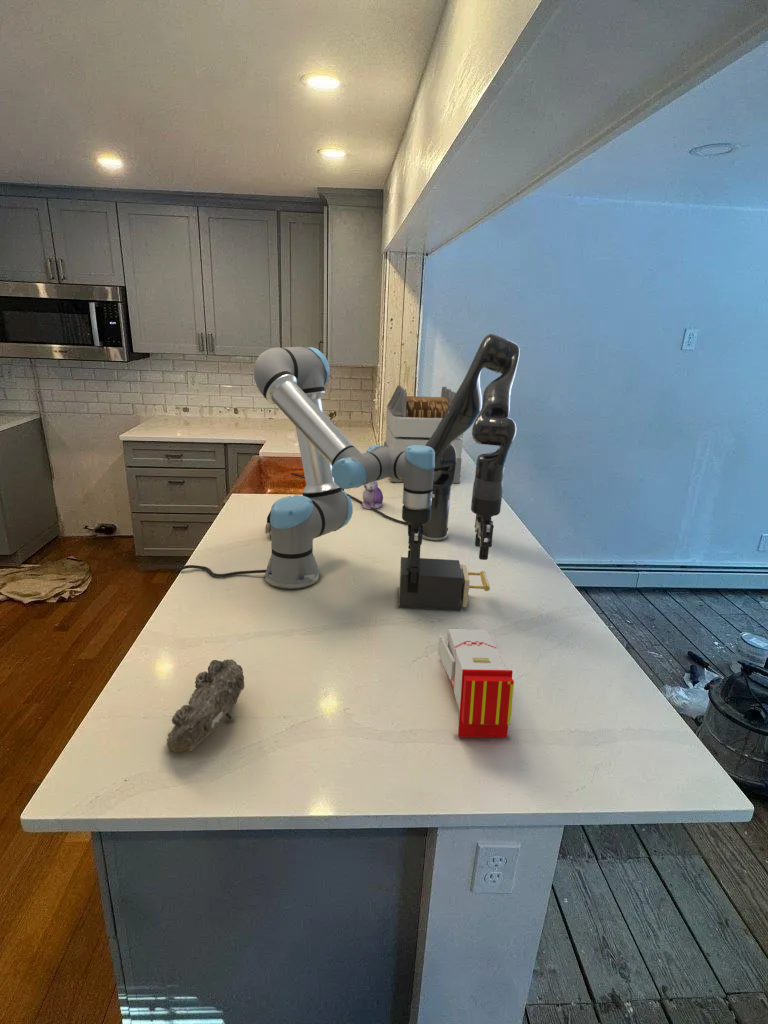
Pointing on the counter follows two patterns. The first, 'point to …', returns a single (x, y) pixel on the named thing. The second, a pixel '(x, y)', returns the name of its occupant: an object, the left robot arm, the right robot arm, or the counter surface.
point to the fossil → (206, 705)
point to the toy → (478, 682)
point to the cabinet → (432, 585)
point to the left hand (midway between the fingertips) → (412, 581)
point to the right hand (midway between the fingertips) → (480, 552)
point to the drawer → (466, 585)
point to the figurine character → (268, 524)
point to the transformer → (418, 422)
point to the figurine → (372, 496)
